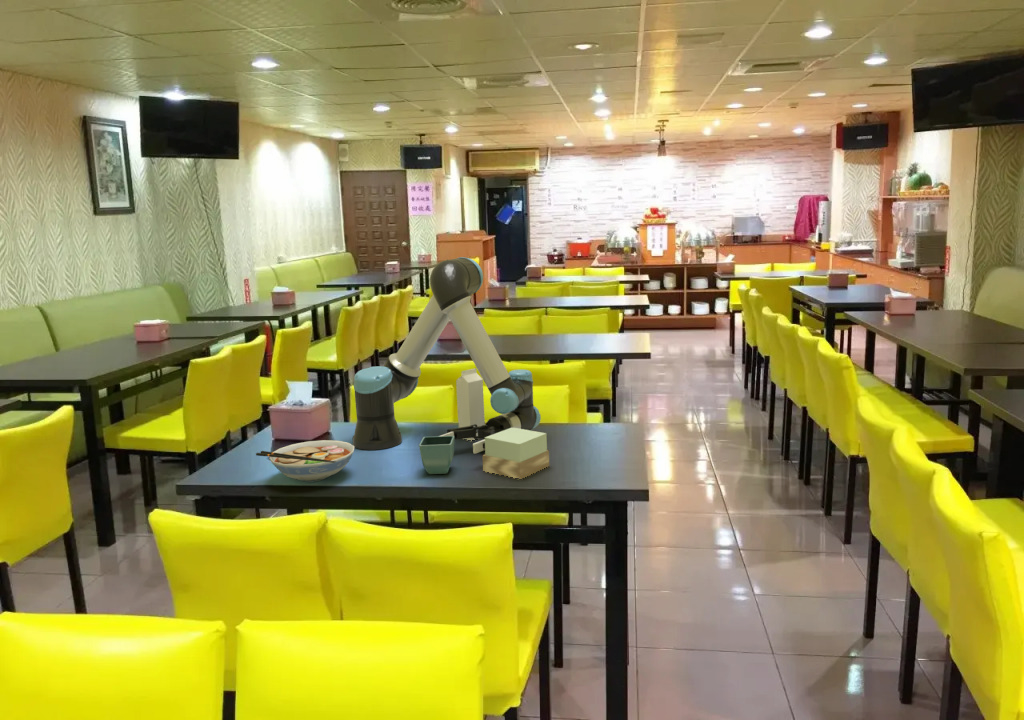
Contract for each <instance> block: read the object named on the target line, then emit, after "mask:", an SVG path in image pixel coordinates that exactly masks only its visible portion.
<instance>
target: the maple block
mask: <svg viewBox="0 0 1024 720" xmlns="http://www.w3.org/2000/svg"><path fill="white" fill-rule="evenodd" d="M548 466H549V467H550V450H548V449H547V451H546V452H543V453H541V454H539V455H536V456H534V457H532V458H529V459H527V460H525V461H522V462H516V461H511V460H506V459H501V458H497V457H492V456H487V455H485V454H483V455H482V472H483V471H485V472H484V473H487V472H489V473H488V474H492V473H495V474H494V475H496V474H499V475H498V476H501V475H504V476H503V477H506V476H508V477H507V478H510V477H513V478H512V479H515V478H519V479H522V478H524V479H526V478H527V476H528V477H531V476H532V475H534V474H536V472H537V471H539V472H541V471H543V470H544V468H545V469H547V468H549V467H548ZM546 467H547V468H546ZM542 469H543V470H542ZM540 470H541V471H540ZM533 473H534V474H533ZM537 473H538V472H537ZM531 474H532V475H531ZM525 477H526V478H525ZM519 479H518V480H519ZM522 480H523V479H522Z"/></svg>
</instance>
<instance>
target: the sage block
mask: <svg viewBox="0 0 1024 720" xmlns="http://www.w3.org/2000/svg"><path fill="white" fill-rule="evenodd" d="M547 441H548V440H547V432H541V431H535V430H524V429H519V428H513V427H512V428H509V429H506V430H504V431H501V432H498V433H496V434H493V435H490V436H487V437H485V450H484V451H485V452H484V455H487V456H492V457H497V458H501V459H506V460H511V461H516V462H522V461H525V460H527V459H529V458H532V457H534V456H536V455H539V454H541V453H543V452H546V451H547V450H548V442H547Z"/></svg>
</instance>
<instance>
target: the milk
mask: <svg viewBox="0 0 1024 720" xmlns="http://www.w3.org/2000/svg"><path fill="white" fill-rule="evenodd" d="M460 373H461V376H459V377H458V378H457V379H456V382H455V383H456V384H455V386H456V401H457V403H456V404H457V419H458V420H457V421H458V422H457V423H458V428H460V427H466V426H471V425H474V424H476V425H477V427H479V426H482V425H486V423H485V422H486V421H485V404H484V403H485V402H484V380H483V378H482V377H481V375H479V374H478V373H477V367H476V368H471V369H470V368H469V369H466V370H462V371H460ZM476 436H478V432H477V433H476ZM465 439H467V440H466V441H468V440H471V441H470V442H473V441H472V440H475V439H474V438H465ZM475 441H476V440H475Z"/></svg>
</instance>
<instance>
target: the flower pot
mask: <svg viewBox="0 0 1024 720" xmlns="http://www.w3.org/2000/svg"><path fill="white" fill-rule="evenodd" d="M418 447H419V453H420V458H421V463H422V465H423V467H424V469H425V471H426V472H427V474H428V475H437V474H438V475H441V474H444V475H445V474H448V472H449V470H450V467H451V465H452V461H453V458H454V452H455V439H454V436H441V435H437V436H423V437H422V439H421V441H420V443H419V444H418Z"/></svg>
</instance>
